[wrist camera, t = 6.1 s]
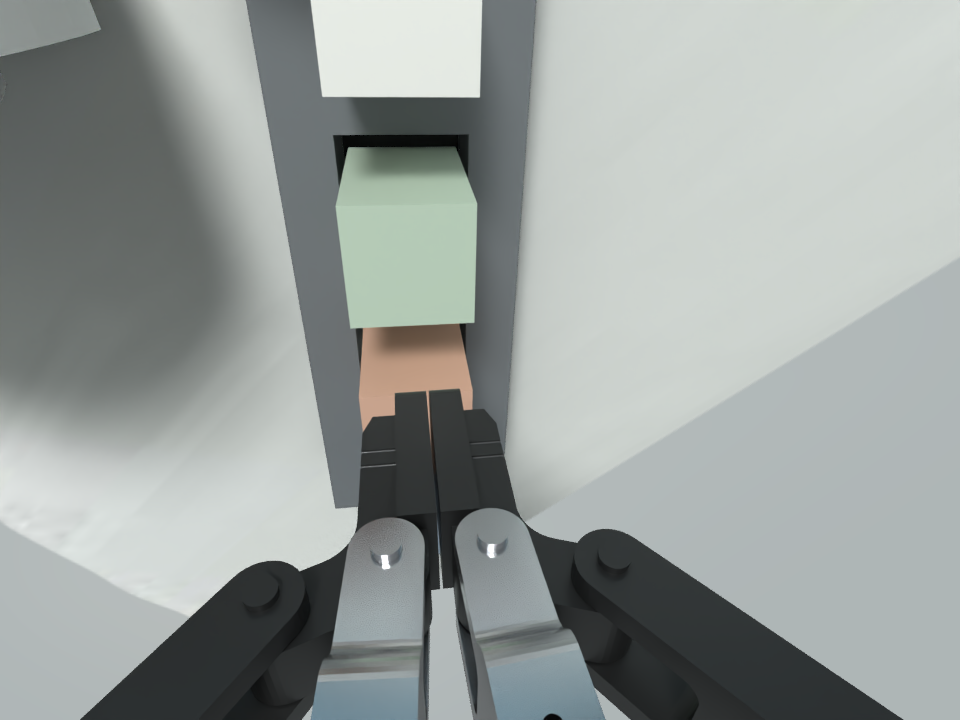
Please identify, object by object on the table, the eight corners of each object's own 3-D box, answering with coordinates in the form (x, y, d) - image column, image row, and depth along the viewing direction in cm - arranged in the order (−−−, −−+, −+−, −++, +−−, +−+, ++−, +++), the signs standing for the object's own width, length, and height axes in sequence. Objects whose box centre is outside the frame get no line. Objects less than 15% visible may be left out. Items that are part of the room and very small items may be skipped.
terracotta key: (455, 304, 28) (472, 390, 22) (454, 376, 30) (470, 470, 25) (364, 308, 27) (358, 397, 22) (372, 380, 30) (368, 478, 24)
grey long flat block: (521, -122, 22) (545, -138, 18) (491, 450, 39) (501, 494, 35) (245, -137, 20) (218, -157, 17) (339, 461, 37) (335, 508, 34)
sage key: (455, 146, 24) (477, 203, 18) (455, 245, 26) (474, 322, 20) (348, 147, 23) (335, 206, 17) (358, 248, 26) (350, 328, 20)
